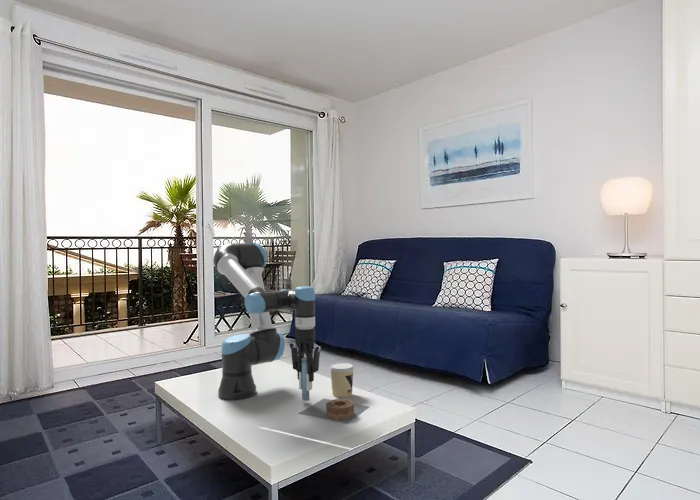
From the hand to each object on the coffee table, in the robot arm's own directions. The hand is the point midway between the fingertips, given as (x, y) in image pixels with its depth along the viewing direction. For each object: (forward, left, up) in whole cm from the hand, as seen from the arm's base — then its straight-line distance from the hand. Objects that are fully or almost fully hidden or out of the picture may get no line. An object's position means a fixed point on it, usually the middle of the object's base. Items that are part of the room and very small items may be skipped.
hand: (305, 389), depth 166 cm
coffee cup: (+7, +15, -6) cm, 18 cm away
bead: (+17, -4, -5) cm, 19 cm away
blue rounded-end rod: (0, 0, -4) cm, 4 cm away
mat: (+13, -1, -6) cm, 15 cm away
